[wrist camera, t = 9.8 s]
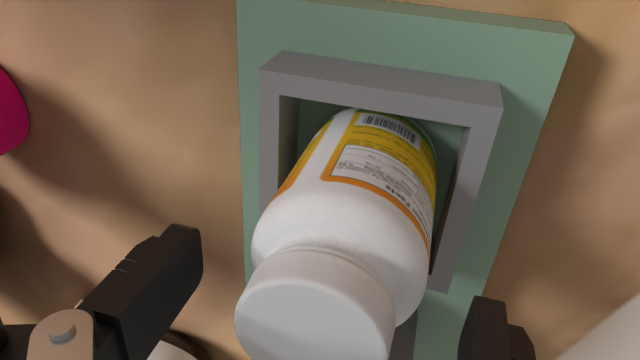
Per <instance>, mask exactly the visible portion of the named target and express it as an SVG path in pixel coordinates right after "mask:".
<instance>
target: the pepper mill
mask: <svg viewBox="0 0 640 360" xmlns="http://www.w3.org/2000/svg"><path fill="white" fill-rule="evenodd" d="M28 129H29V117H28V111H27V108H26V105H25V103H24V100H23V98H22V96H21V94H20V92H19V90H18V89H17V87H16V85H15V84H14V83H13V81H12V80H11V79H10V77H9V76H8V75H7V74H6V73H5V72H4V71H3V70H2V69H1V68H0V156H1V155H3V154H4V153H6V152H8V151H10V150H12V149H14V148H16V147H17V146H19V145H20V144H22V142H23V141H24V140H25V138H26V137H27V135H28Z"/></svg>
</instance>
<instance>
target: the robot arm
mask: <svg viewBox="0 0 640 360" xmlns="http://www.w3.org/2000/svg"><path fill="white" fill-rule="evenodd" d="M202 274H203V257H202V247H201V237H200V232H199V230H198V229H196V228H192V227H188V226H184V225H180V224H175V223H173V224H171V225H170V226H169V227H168V228H167V229H166V230H165V231H164V232H163V233H162V235H161V236H160V237H155V236H152V237H150V238H148V239H147V240H145V241H143V242H141V243H139V244H138V245H136V246H135V247H134V248H133V249H132V250H131V251H130V252H129V253H128V254H127V255H126V257H125V259H124V260H122V261H121V262H120V263H119V264H118V265H117V266H116V267H115V270H112V271H111V272H110V273H109V274H108V275H107V276H106V277H105V278H104V280H103V281H102V282H101V283H100V284H99V285H98V286H97V287H96V288H95V289H94V290H93V291H92V292H91V293H90V294H89V295H88V296H87V297H86V298H85V299H84V300H83V301H82V303H81V304H80V305H79V306H78V307H77V308H75V309H67V310H62V311H58V312H56V313H53V314H51V315H49V316H48V317H46V318H45V319H43V320H42V321H41V322H40V323H38V324H23V325H3V323H2V320H1V318H0V360H147V359H148V357H149V356H150V354H151V353H152V351H153V350H154V348H155V347H156V346H157V344H158V343H159V341H160V340H161V338H162V337H163V336H164V334H165V333H166V331H167V330H168V328H169V327H170V325H171V324H172V323H173V321H174V320H175V318H176V317H177V315H178V314H179V313H180V311H181V310H182V308H183V307H184V305H185V304H186V302H187V301H188V300H189V298H190V297H191V295H192V294H193V292H194V291H195V290H196V288H197V287H198V285H199V283H200V281H201V278H202ZM457 360H536V357H535V351H534V345H533V344H532V342H531V340H530V339H529V337H528V335H527V334H526V332H525V330H524V329H523V327H519V326H515V325H511V324H507V314H506V305H505V303H504V302H502V301H498V300H494V299H489V298H485V297H481V296H477V295H475V296H474V298H473V300H472V303H471V306H470V309H469V311H468V314H467V317H466V320H465V323H464V326H463V329H462V331H461V335H460V339H459V345H458V353H457Z"/></svg>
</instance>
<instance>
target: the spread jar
mask: <svg viewBox="0 0 640 360" xmlns="http://www.w3.org/2000/svg"><path fill="white" fill-rule="evenodd" d="M82 301H83V300H82V299H81V300H80V301H79V302H78V303H77V304H76V306H75V308H77V307H78V306H79V305H80V304H81V303H82ZM75 308H74V309H75ZM147 360H209V359H208V357H207V356H206V355H205V354H204V352H203V351H202V350H201V349H200V348H198V347H197V346H196V345H195V344H194V343H192V342H191V341H189V340H187V339H186V338H184V337H182V336H180V335H178V334H175V333H173V332H170V331H166V333H165V334H164V336H163V337H162V338H161V340H160V341H159V343H158V344H157V346H156V347H155V348H154V350H153V351H152V353H151V354H150V356H149V357H148V359H147Z"/></svg>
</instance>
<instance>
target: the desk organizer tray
mask: <svg viewBox="0 0 640 360" xmlns="http://www.w3.org/2000/svg"><path fill="white" fill-rule="evenodd" d="M236 21H237V52H238V82H239V113H240V143H241V174H242V205H243V235H244V266H245V288H246V286H247V284H248V282H249V280H250V278H251V276H252V274H253V272H254V271H253V267H252V262H251V243H252V237H253V234H254V230H255V228H256V226H257V223H258V221H259V220H260V218H261V216H262V214H263V212H264V211H265V209H266V207H267V206H268V204H269V203H270V201H271V200H272V199H273V197H274V196H275V194H276V193H277V191H278V190H279V188H280V187H281V185H282V184H283V183H284V181H285V180H286V178H287V177H288V175H289V174H290V172H291V171H292V169H293V168H294V166H295V165H296V163H297V162H298V160H299V159H300V157H301V156H302V154H303V153H304V151H305V149H306V148H307V147H308V145H309V143H310V142H311V140H312V139H313V137H314V136H315V134H316V133H317V132H318V130H319V129H320V128H321V126H322V125H323V124H324V123H325V122H326V121H327V120H328V119H329V118H331V117H332V116H333V115H335V114H337V113H338V112H340V111H342V110H345V109H347V108H350V107H354V108H360V109H366V110H372V111H378V112H384V113H390V114H396V115H401V116H407V117H410V118H411V119H413V120H414V121H415V122H416V123H417V124H419V125H420V126H421V127H422V128H423V130H424V131H425V132H426V133H427V135H428V136H429V138H430V140H431V141H432V144H433V146H434V149H435V151H436V156H437V162H438V178H437V188H436V198H435V208H434V217H433V227H432V238H431V248H430V261H429V271H428V278H427V284H426V289H425V292H424V295H423V298H422V300H421V302H420V304H419V306H418V307H417V309H416V310H415V311H414V313H413V314H412V315H411V316H410V317H409V318H408V319H407V320H406V321H405V322H404V323H402V324H401V325H399V326H398V327H396V328H395V332H394V336H393V340H392V345H391V349H390V354H389V358H388V360H457V353H458V345H459V339H460V335H461V331H462V329H463V326H464V323H465V320H466V317H467V314H468V311H469V309H470V306H471V303H472V300H473V298H474V296H475V295H477V296H482V293H483V290H484V287H485V284H486V282H487V279H488V276H489V273H490V271H491V268H492V265H493V262H494V260H495V257H496V254H497V251H498V249H499V246H500V243H501V240H502V238H503V235H504V232H505V229H506V226H507V224H508V221H509V218H510V215H511V213H512V210H513V207H514V204H515V202H516V199H517V196H518V193H519V191H520V188H521V185H522V182H523V180H524V177H525V174H526V171H527V168H528V166H529V163H530V160H531V157H532V155H533V152H534V149H535V146H536V144H537V141H538V138H539V135H540V133H541V130H542V127H543V124H544V121H545V119H546V116H547V113H548V110H549V108H550V105H551V102H552V99H553V97H554V94H555V91H556V88H557V86H558V83H559V80H560V77H561V75H562V72H563V69H564V66H565V63H566V61H567V58H568V55H569V52H570V50H571V47H572V44H573V41H574V39H575V35H574V33H573V32H572V31H571V30H570V28H569V27H568V26H567V25H566V23H564V22H556V21H548V20H540V19H532V18H523V17H515V16H507V15H499V14H491V13H482V12H474V11H466V10H458V9H450V8H441V7H433V6H425V5H417V4H409V3H400V2H392V1H384V0H236Z"/></svg>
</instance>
